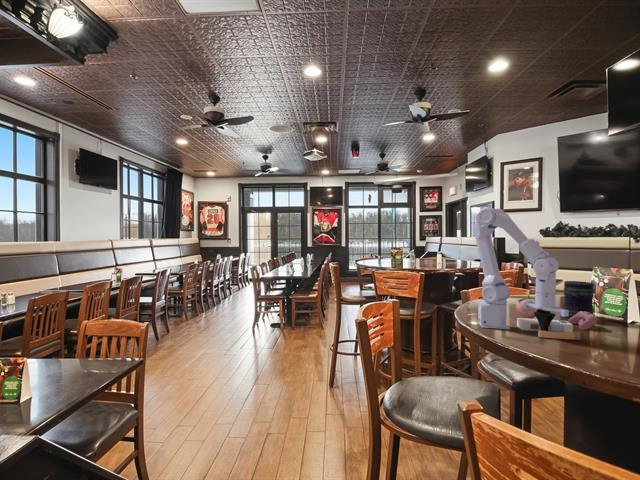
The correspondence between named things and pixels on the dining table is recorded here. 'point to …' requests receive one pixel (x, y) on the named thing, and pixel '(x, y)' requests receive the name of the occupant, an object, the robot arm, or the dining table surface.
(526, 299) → the decorative fruit
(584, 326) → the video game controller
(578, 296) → the storage jar
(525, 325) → the power strip
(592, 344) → the dining table surface
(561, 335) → the wooden block bar
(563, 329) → the plug
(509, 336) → the dining table surface
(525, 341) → the dining table surface
